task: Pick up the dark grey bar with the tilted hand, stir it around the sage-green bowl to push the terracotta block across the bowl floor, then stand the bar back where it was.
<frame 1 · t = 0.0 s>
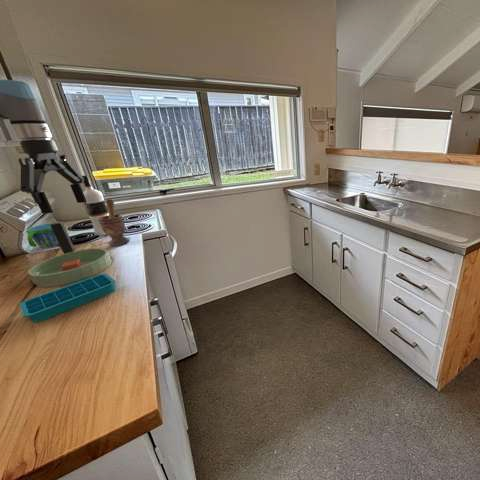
hand: (66, 207, 86), 24 cm above the countertop, tool pointing down, fingers open, 13 cm apart
mortar and pestle: (119, 242, 122), on the countertop
ice cube tray: (74, 300, 78), on the countertop
block: (75, 273, 93), point 1 cm above the countertop, touching bowl
bowl: (76, 272, 95), on the countertop
green blue printed package: (52, 247, 121), on the countertop
vodka: (106, 233, 136), on the countertop
dark grey bar: (73, 259, 106), on the countertop
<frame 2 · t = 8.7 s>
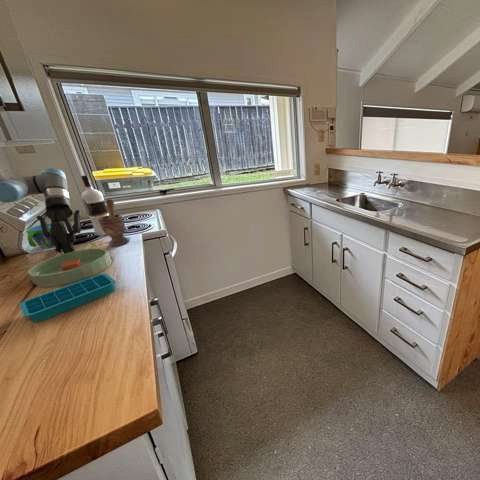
hand: (65, 250, 101), 6 cm above the countertop, tool tilted 45°, fingers closed on dark grey bar, 3 cm apart
dark grey bar: (73, 259, 106), on the countertop, touching gripper
everything else where it was.
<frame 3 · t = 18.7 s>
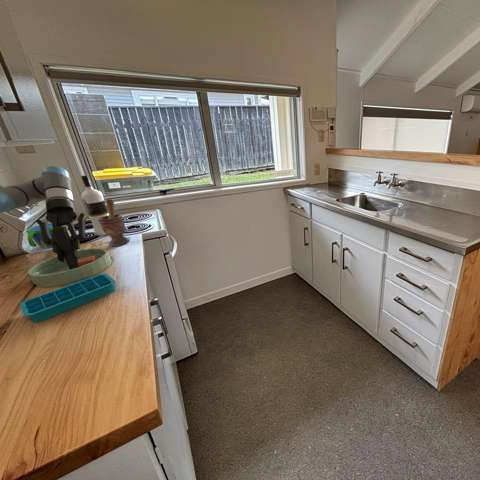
hand: (68, 258, 89), 7 cm above the countertop, tool tilted 45°, fingers closed on dark grey bar, 3 cm apart
block: (90, 269, 95), point 1 cm above the countertop, touching bowl, dark grey bar
dark grey bar: (77, 269, 94), point 2 cm above the countertop, touching block, gripper
everything else where it was.
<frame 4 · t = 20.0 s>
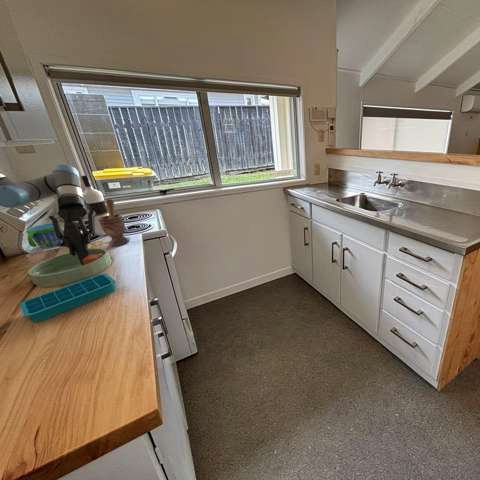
hand: (79, 252, 93), 7 cm above the countertop, tool tilted 45°, fingers closed on dark grey bar, 3 cm apart
block: (96, 267, 97), point 1 cm above the countertop, touching bowl
dark grey bar: (87, 262, 99), point 2 cm above the countertop, touching gripper
everything else where it was.
when the fingers open (6 cm above the countertop, at t = 29.4 s): dark grey bar stays where it is, on the countertop.
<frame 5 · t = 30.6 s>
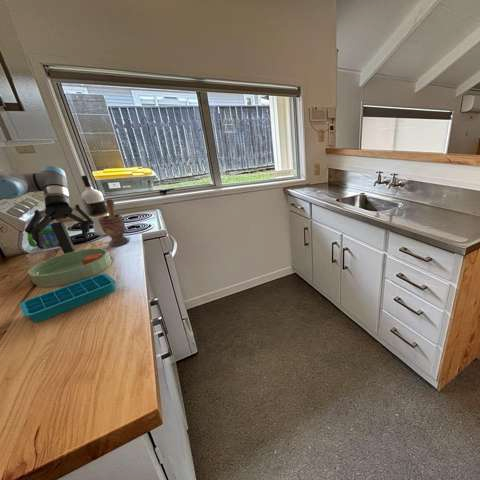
hand: (63, 243, 101), 8 cm above the countertop, tool tilted 45°, fingers open, 13 cm apart
dark grey bar: (73, 259, 106), on the countertop
everything else where it was.
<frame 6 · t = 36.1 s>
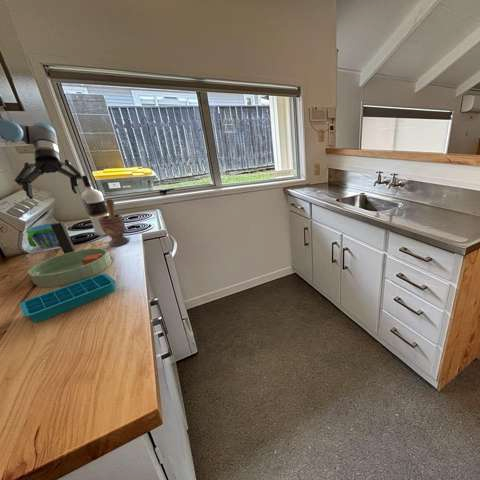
hand: (52, 194, 105), 26 cm above the countertop, tool tilted 45°, fingers open, 13 cm apart
nothing on the countertop moved.
at the end: block moved 6.0 cm from its start; block inside the target area in the bowl (6.3 cm from its centre), point 0.6 cm above the bowl's base; the gripper is holding nothing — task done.
